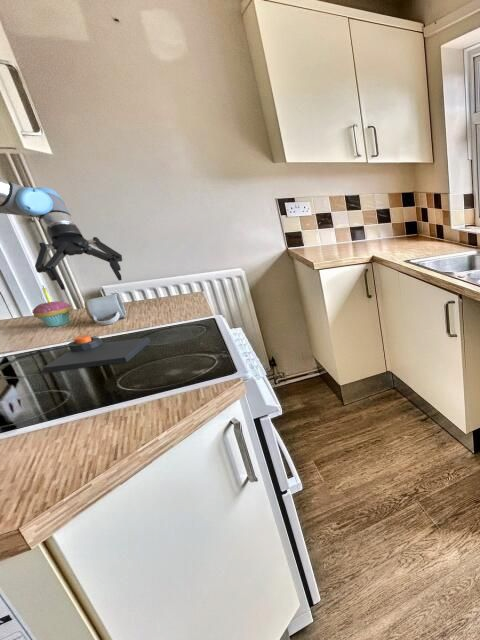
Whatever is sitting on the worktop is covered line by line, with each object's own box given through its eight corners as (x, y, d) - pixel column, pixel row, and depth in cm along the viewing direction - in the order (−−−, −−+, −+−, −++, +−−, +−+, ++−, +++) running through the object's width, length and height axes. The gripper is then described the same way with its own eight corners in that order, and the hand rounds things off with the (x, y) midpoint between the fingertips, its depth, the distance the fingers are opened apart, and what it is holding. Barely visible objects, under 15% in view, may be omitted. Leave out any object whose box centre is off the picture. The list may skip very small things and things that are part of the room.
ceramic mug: (94, 319, 135) (84, 296, 132) (127, 313, 140) (118, 291, 137) (90, 328, 127) (79, 304, 124) (125, 322, 132) (116, 299, 129)
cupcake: (41, 324, 132) (23, 286, 127) (78, 317, 137) (62, 281, 132) (38, 331, 126) (19, 292, 121) (77, 323, 131) (60, 286, 126)
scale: (44, 373, 99) (39, 361, 98) (80, 349, 112) (75, 338, 111) (127, 362, 104) (122, 351, 103) (152, 340, 117) (148, 330, 116)
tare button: (73, 345, 108) (71, 339, 107) (80, 341, 111) (78, 335, 110) (88, 343, 109) (86, 338, 108) (94, 339, 111) (92, 334, 111)
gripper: (113, 233, 147) (141, 281, 145) (8, 243, 129) (38, 298, 127) (111, 218, 142) (140, 267, 140) (2, 227, 124) (33, 284, 122)
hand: (92, 282), depth 133 cm, fingers open, 13 cm apart
